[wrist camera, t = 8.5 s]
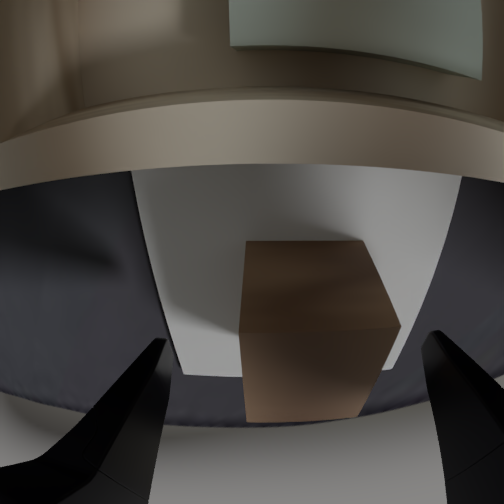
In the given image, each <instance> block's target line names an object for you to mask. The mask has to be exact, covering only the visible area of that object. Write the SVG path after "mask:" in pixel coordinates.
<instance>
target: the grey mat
mask: <svg viewBox="0 0 504 504" xmlns="http://www.w3.org/2000/svg"><path fill="white" fill-rule="evenodd" d="M131 172H132V178H133V184H134V189H135V194H136V199H137V204H138V209H139V214H140V219H141V223H142V228H143V232H144V237H145V241H146V245H147V250H148V254H149V258H150V262H151V266H152V270H153V274H154V278H155V281H156V285H157V289H158V292H159V296H160V300H161V303H162V307H163V310H164V314H165V317H166V320H167V324H168V327H169V330H170V334H171V337H172V340H173V343H174V346H175V349H176V352H177V355H178V358H179V361H180V364H181V367H182V370H183V373H184V374H188V375H205V376H228V377H242V367H241V356H240V344H239V320H240V307H241V295H242V283H243V271H244V259H245V247H246V241H364V243H365V246H366V248H367V250H368V252H369V254H370V256H371V258H372V260H373V262H374V264H375V267H376V269H377V271H378V273H379V275H380V277H381V280H382V282H383V284H384V286H385V289H386V291H387V293H388V295H389V298H390V300H391V302H392V305H393V307H394V310H395V312H396V314H397V317H398V319H399V322H400V324H401V329H400V331H399V333H398V336H397V338H396V340H395V343H394V345H393V347H392V349H391V352H390V354H389V356H388V358H387V360H386V362H385V364H384V366H383V368H382V370H388V369H392V368H393V366H394V364H395V362H396V360H397V358H398V356H399V354H400V352H401V350H402V348H403V346H404V344H405V342H406V340H407V338H408V335H409V333H410V331H411V329H412V327H413V324H414V322H415V320H416V317H417V315H418V313H419V310H420V308H421V306H422V303H423V301H424V298H425V296H426V293H427V291H428V288H429V285H430V283H431V280H432V277H433V275H434V272H435V269H436V266H437V263H438V260H439V257H440V254H441V251H442V248H443V245H444V242H445V239H446V235H447V232H448V229H449V225H450V222H451V218H452V215H453V211H454V207H455V203H456V199H457V195H458V191H459V187H460V182H461V178H462V176H459V175H451V174H443V173H435V172H426V171H416V170H406V169H394V168H382V167H367V166H350V165H327V164H223V165H199V166H182V167H167V168H154V169H142V170H132V171H131Z"/></svg>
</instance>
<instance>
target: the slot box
mask: <svg viewBox="0 0 504 504" xmlns="http://www.w3.org/2000/svg"><path fill="white" fill-rule="evenodd" d="M223 164H327V165H350V166H367V167H382V168H394V169H406V170H416V171H426V172H435V173H443V174H451V175H459V176H466V177H473V178H479V179H485V180H492V181H497V182H503V183H504V0H0V190H4V189H9V188H14V187H19V186H25V185H30V184H36V183H41V182H47V181H54V180H60V179H67V178H73V177H80V176H88V175H96V174H104V173H113V172H122V171H132V170H142V169H154V168H167V167H182V166H199V165H223Z"/></svg>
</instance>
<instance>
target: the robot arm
mask: <svg viewBox="0 0 504 504" xmlns="http://www.w3.org/2000/svg"><path fill="white" fill-rule="evenodd" d="M421 353H422V359H423V365H424V371H425V378H426V384H427V390H428V394H429V398H430V403H431V407H432V411H433V416H434V421H435V425H436V430H437V435H438V441H439V446H440V452H441V458H442V464H443V471H444V478H445V486H446V496H447V504H504V389H503V388H501V386H500V385H499V384H498V383H497V382H496V381H495V380H494V379H493V378H492V377H491V376H490V375H489V374H488V373H487V372H486V371H485V370H483V369H482V368H481V367H480V366H479V365H478V364H477V363H476V362H475V361H474V360H473V359H472V358H471V357H469V356H468V355H467V354H466V353H465V352H464V351H463V350H462V349H461V348H460V347H458V346H457V345H456V344H455V343H454V342H453V341H452V340H451V339H449V338H448V337H447V336H446V335H445V334H444V333H443V332H441V331H440V330H435V331H430V332H429V333H428V335H427V337H426V339H425V341H424V343H423V345H422V348H421ZM172 366H173V353H172V350H171V347H170V344H169V341H168V339H166V338H155V339H154V340H153V341H152V342H151V343H150V344H149V345H148V347H147V348H146V349H145V350H144V351H143V352H142V353H141V354H140V355H139V356H138V357H137V359H136V360H135V361H134V362H133V363H132V364H131V365H130V366H129V367H128V369H127V370H126V371H125V372H124V373H123V374H122V375H121V376H120V377H119V378H118V380H117V381H116V382H115V383H114V384H113V385H112V386H111V387H110V388H109V390H108V391H107V392H106V393H105V394H104V395H103V396H102V397H101V398H100V400H99V401H98V402H97V403H96V404H95V405H94V406H93V408H91V410H90V411H89V412H88V413H87V414H86V415H85V416H84V417H83V418H82V419H81V421H79V423H78V424H77V425H76V426H75V427H74V428H72V429H71V430H70V431H69V432H68V433H67V434H66V435H65V436H64V437H63V438H62V439H60V440H59V441H58V442H57V443H56V444H55V445H54V446H52V447H51V448H50V449H49V450H48V451H47V452H45V453H44V454H43V455H41V456H40V457H38V458H36V459H34V460H30V461H27V462H23V463H18V464H14V465H9V466H4V467H0V504H148V500H149V495H150V489H151V484H152V479H153V474H154V468H155V463H156V458H157V453H158V448H159V443H160V438H161V434H162V429H163V424H164V420H165V415H166V410H167V406H168V401H169V394H170V384H171V375H172Z"/></svg>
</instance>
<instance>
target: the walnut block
mask: <svg viewBox="0 0 504 504" xmlns="http://www.w3.org/2000/svg"><path fill="white" fill-rule="evenodd" d="M400 329H401V324H400V322H399V319H398V317H397V314H396V312H395V310H394V307H393V305H392V302H391V300H390V298H389V295H388V293H387V291H386V289H385V286H384V284H383V282H382V280H381V277H380V275H379V273H378V271H377V269H376V267H375V264H374V262H373V260H372V258H371V256H370V254H369V252H368V250H367V248H366V246H365V243H364V241H246V247H245V259H244V271H243V283H242V295H241V307H240V320H239V344H240V356H241V367H242V377H243V388H244V398H245V409H246V419H247V422H299V421H317V420H330V419H341V418H350V417H357V416H358V414H359V412H360V411H361V409H362V407H363V405H364V403H365V401H366V400H367V398H368V396H369V394H370V392H371V390H372V388H373V386H374V384H375V383H376V381H377V379H378V377H379V375H380V373H381V371H382V368H383V366H384V364H385V362H386V360H387V358H388V356H389V354H390V352H391V349H392V347H393V345H394V343H395V340H396V338H397V336H398V333H399V331H400Z"/></svg>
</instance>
